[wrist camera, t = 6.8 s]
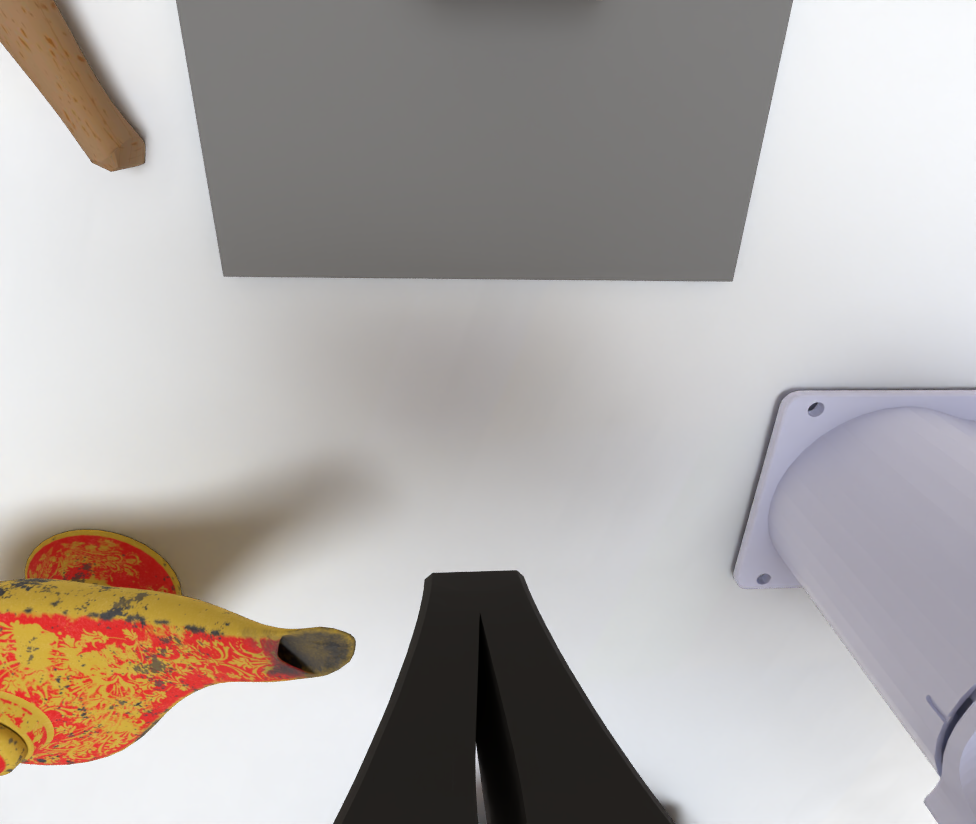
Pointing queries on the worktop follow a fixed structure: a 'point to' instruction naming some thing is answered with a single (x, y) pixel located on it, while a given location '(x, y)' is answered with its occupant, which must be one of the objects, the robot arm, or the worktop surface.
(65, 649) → the magic lamp
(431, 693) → the robot arm
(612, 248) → the rubber mat
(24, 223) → the worktop surface
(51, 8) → the folding knife
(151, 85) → the worktop surface
